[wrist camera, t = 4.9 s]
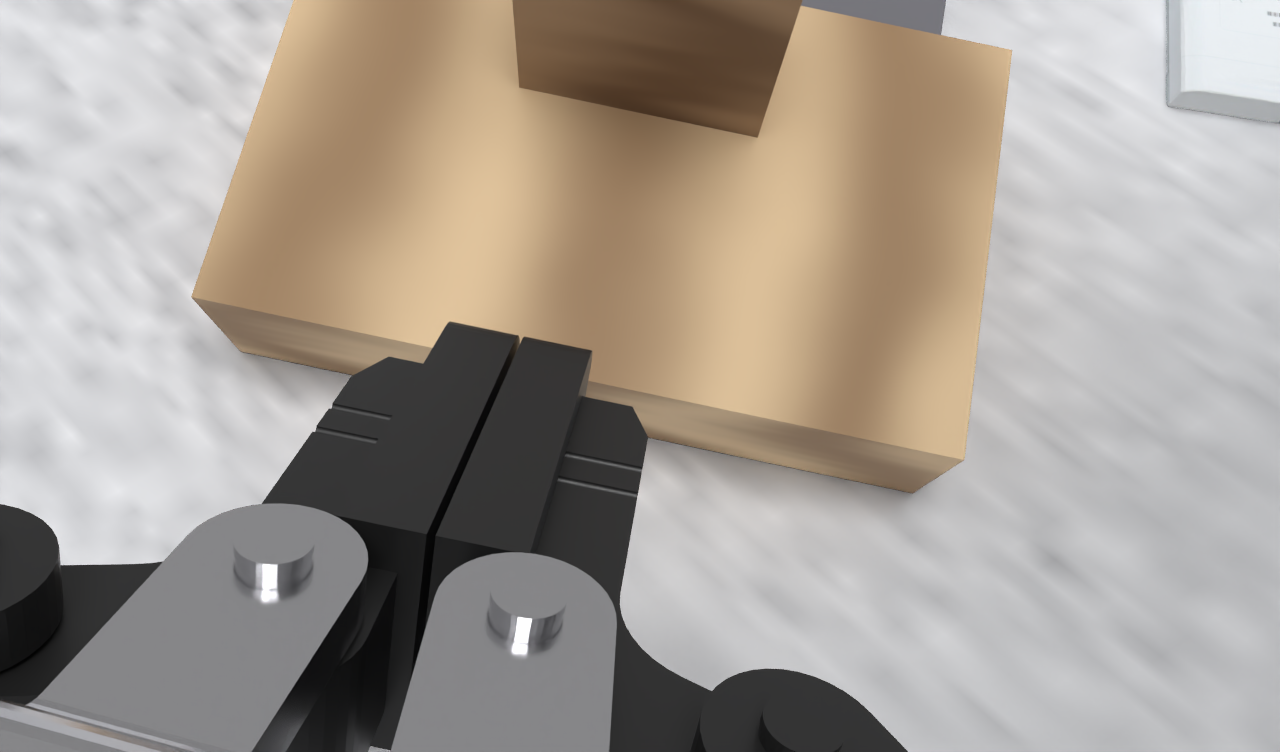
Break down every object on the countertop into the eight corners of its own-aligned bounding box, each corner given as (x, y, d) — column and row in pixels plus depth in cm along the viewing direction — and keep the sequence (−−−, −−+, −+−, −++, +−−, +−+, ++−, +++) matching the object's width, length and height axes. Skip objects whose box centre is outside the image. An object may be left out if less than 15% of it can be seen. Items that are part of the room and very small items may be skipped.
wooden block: (960, 127, 33) (1012, 50, 29) (912, 493, 29) (964, 460, 25) (354, 0, 33) (326, -95, 29) (240, 351, 29) (190, 297, 25)
